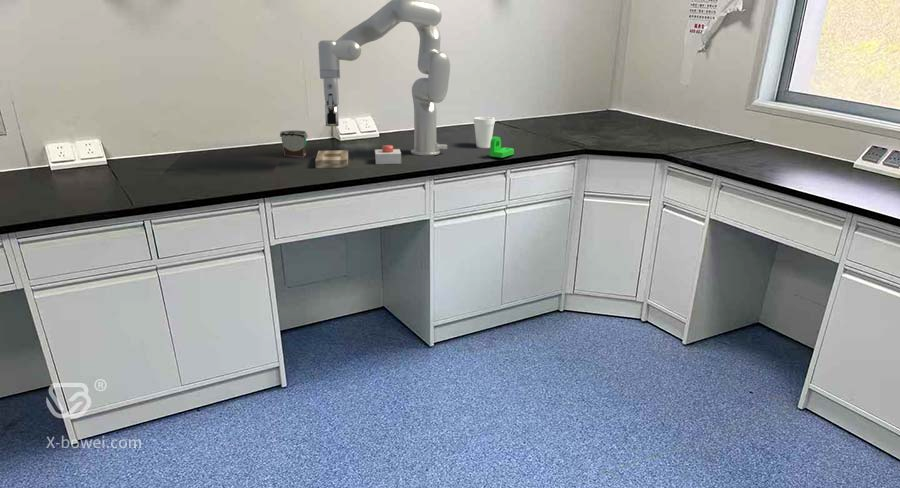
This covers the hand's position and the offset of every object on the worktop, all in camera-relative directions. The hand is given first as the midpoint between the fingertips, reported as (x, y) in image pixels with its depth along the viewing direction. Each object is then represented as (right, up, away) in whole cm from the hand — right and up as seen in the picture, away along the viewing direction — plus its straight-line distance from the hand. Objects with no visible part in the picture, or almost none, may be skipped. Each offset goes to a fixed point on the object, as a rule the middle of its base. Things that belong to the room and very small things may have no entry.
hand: (332, 122), depth 235 cm
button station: (+21, -14, +8) cm, 27 cm away
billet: (0, -1, 0) cm, 1 cm away
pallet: (-1, -15, +5) cm, 16 cm away
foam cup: (+61, -3, +41) cm, 74 cm away
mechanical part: (+69, -9, +25) cm, 74 cm away
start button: (+21, -10, +7) cm, 24 cm away
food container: (-18, -10, +19) cm, 28 cm away
